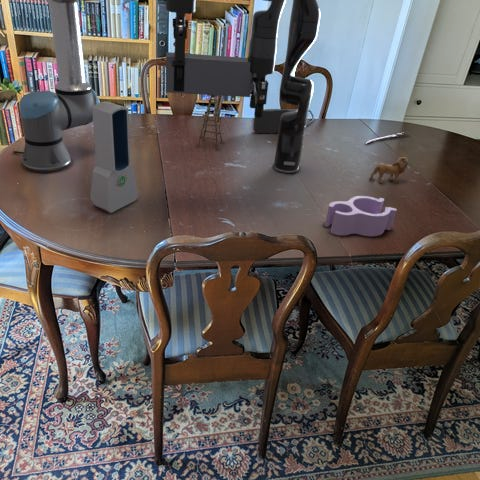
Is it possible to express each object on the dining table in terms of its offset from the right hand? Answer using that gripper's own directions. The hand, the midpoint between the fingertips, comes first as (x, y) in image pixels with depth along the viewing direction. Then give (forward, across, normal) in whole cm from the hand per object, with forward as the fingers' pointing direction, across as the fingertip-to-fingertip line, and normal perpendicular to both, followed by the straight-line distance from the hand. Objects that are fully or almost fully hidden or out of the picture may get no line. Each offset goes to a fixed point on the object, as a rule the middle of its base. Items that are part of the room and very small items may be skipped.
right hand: (255, 112), depth 136 cm
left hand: (-6, +1, +22) cm, 23 cm away
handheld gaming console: (+29, +64, -24) cm, 74 cm away
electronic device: (+29, -4, +41) cm, 50 cm away
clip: (+29, -16, -32) cm, 46 cm away
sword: (+29, +60, -75) cm, 100 cm away
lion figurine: (+29, +17, -56) cm, 65 cm away
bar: (-5, +1, +14) cm, 15 cm away
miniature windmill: (+29, +46, +8) cm, 55 cm away
